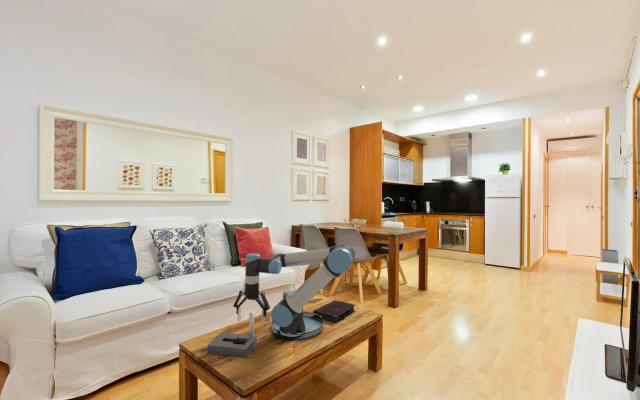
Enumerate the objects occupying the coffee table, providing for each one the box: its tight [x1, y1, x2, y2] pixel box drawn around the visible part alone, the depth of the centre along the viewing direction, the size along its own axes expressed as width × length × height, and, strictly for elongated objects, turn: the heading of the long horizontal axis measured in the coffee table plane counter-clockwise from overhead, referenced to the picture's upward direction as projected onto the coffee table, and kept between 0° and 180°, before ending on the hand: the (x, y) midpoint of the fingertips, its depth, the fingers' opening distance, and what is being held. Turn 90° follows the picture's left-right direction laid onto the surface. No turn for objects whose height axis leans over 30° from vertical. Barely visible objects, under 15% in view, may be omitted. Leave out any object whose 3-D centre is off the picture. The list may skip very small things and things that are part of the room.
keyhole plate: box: [207, 331, 258, 359], centre depth 155 cm, size 20×14×4 cm
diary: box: [312, 299, 356, 324], centre depth 202 cm, size 19×25×5 cm
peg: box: [247, 311, 257, 336], centre depth 166 cm, size 5×5×14 cm
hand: (251, 321), depth 166 cm, fingers open, 13 cm apart
